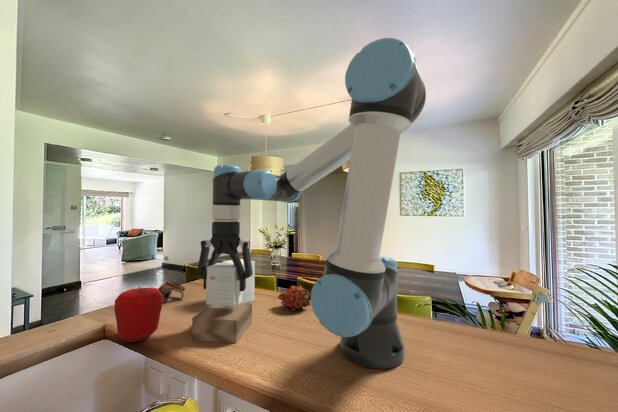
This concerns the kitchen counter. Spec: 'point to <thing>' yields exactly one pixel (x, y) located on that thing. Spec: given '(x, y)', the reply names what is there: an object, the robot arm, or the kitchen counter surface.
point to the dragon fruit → (295, 298)
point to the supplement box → (247, 284)
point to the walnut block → (222, 323)
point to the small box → (221, 284)
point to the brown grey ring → (170, 290)
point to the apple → (138, 313)
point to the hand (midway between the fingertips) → (224, 301)
